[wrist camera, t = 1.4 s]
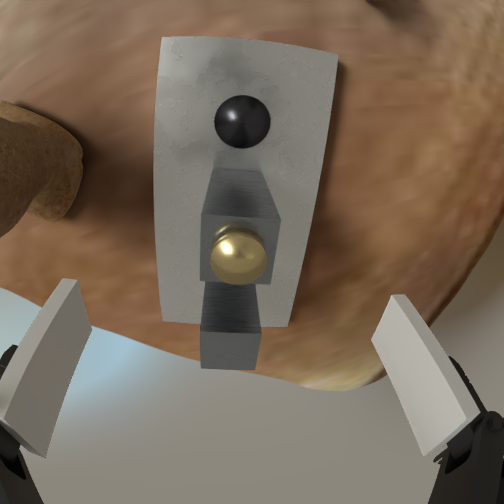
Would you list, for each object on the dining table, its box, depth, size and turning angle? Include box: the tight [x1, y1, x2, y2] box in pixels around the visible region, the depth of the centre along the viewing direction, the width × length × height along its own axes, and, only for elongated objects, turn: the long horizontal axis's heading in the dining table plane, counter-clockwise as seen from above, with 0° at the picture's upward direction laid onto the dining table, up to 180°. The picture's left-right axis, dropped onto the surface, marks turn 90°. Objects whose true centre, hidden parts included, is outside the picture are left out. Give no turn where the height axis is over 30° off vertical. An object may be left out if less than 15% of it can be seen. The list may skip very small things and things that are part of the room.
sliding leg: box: [200, 169, 281, 285], centre depth 19 cm, size 4×4×11 cm
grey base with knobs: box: [153, 36, 338, 370], centre depth 21 cm, size 14×28×12 cm, turn 174°
